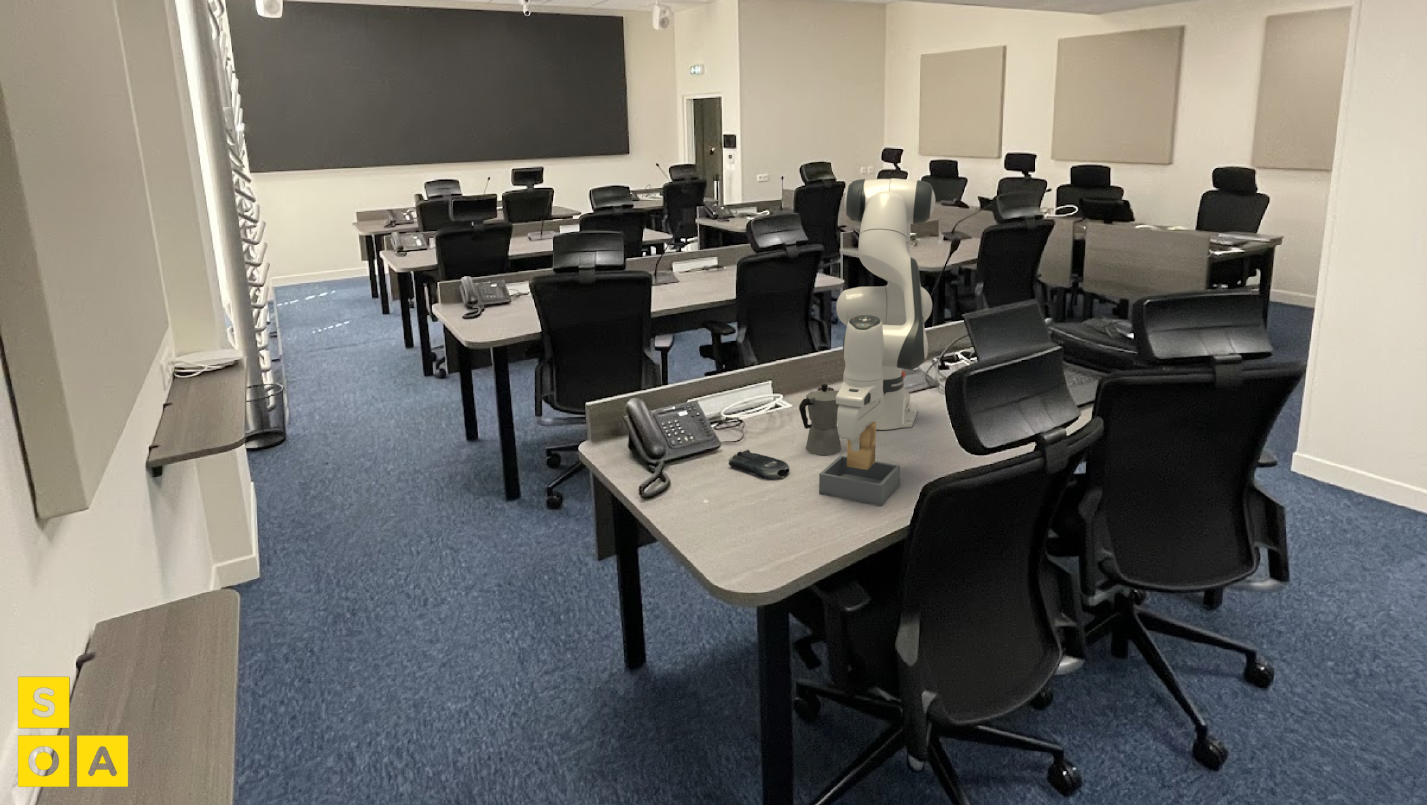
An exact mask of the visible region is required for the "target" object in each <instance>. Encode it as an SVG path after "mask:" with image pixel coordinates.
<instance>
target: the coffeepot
mask: <svg viewBox="0 0 1427 805" xmlns="http://www.w3.org/2000/svg"><path fill="white" fill-rule="evenodd" d="M820 387H821V389H820V390H813V391H810V392H808V393H807V394H806V395H805V397H806V398H803V399H802V400H801V403H800V404H799V405H798V409H799V413H800V417H801V421H802V424H803V426H804V427H803V428H804V429H805V430H806V429H807V430H808V429H809V430H808V433H807V440H806V445H805V449H806V451H807V452H808V453H809V454H812V455H816V456H821V457H822V456H823V457H825V456H833V455H837V454H839V453H840V451H841V450H842V445H841V438H840V437H839V435H838V426H837V411H838V406H839V405H840V404H836V395H837V394H838V392H839V390H838V389H837V390H828V384H827V383H822V384H821V386H820ZM806 407H807V409H806ZM806 410H808V416H807V411H806ZM808 417H809V419H808ZM808 420H810V424H809V423H808V422H809V421H808Z"/></svg>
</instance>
